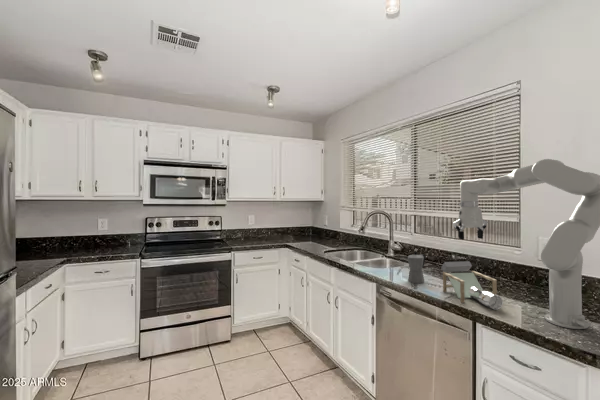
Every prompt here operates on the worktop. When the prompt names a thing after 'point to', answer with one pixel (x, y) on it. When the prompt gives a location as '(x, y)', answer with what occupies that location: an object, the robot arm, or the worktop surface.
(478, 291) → the beer glass
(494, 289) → the trapdoor stand
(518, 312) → the worktop surface
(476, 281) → the trapdoor
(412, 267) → the coffeepot
